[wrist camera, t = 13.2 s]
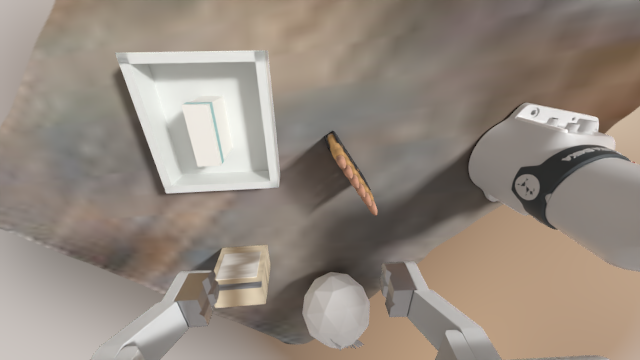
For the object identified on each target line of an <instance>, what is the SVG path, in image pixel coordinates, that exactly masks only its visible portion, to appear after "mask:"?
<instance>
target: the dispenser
mask: <svg viewBox="0 0 640 360" xmlns="http://www.w3.org/2000/svg"><path fill="white" fill-rule="evenodd" d="M214 272H215V274H216V277H215V280H216V281H217V282H218V284H219V297H218V300H217V303H216V304H215V308H223V307H235V306H247V305H259V304H266V298H267V290H268V282H269V274H270V259H269V253H268V246H267V245H258V246H244V247H229V248H222V250H221V253H220V256H219V258H218V261H217V263H216V266H215V269H214Z"/></svg>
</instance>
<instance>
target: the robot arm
mask: <svg viewBox="0 0 640 360" xmlns="http://www.w3.org/2000/svg"><path fill="white" fill-rule="evenodd" d="M531 112H532V113H531ZM598 127H599V121H598V118H597V117H594V116H591V115H586V114H581V113H576V112H571V111H566V110H561V109H556V108H551V107H546V106H541V105H536V104H532V103H524V104H522V105H521V106H519V107H518V108H517V109H516V110H515V111H514V112H513V113H512V114H511V115H510V117H509V118H507V119H506V120H504V121H503V122H501V123H499V124H498V125H496V126H495V127H493V128H492V129H491V130H489V131H488V132H487V133H486V134H485V135H484V136H483V137H482V138H481V139H480V141H479V142H478V143H477V145H476V146H475V148H474V150H473V152H472V154H471V157H470V161H469V175H470V178H471V180H472V181H473V183H474V184H475V185H477V186H478V187H480V188H481V189H482V190H483V191H484V194H485V196H486V198H487V199H488V200H490V201H492V202H495V201H500V202H502V203H503V204H505V205H507V206H508V207H510V208H512V209H514V210H515V211H517V212H519V213H521V214H522V215H532V216H533V217H534V218H535V219H536V220H537V221H539V222H540V223H543V224H545V225H547V226H548V227H550V228H552V229H556V230H559V231H561V232H562V233H564V234H565V235H567V236H568V237H570V238H571V239H573V240H574V241H576V242H577V243H579V244H580V245H582V246H583V247H585V248H586V249H587V250H589V251H590V252H592V253H593V254H595V255H596V256H598V257H599V258H601V259H602V260H604V261H605V262H607V263H609V264H611V265H613V266H616V267H619V268H622V269H626V270H631V271H638V272H640V165H639V164H636V163H635V162H631V161H630V160H629V159H628V158H626V157H625V156H623V155H622V154H621V153H619V152H617V151H615V141H614V138H613V137H611V136H609V135H606V134H602V133H598ZM381 269H382V272H383V273H382V274H381V275H380V286H381V291H382V294H383V296H384V297H385V298H386V302H385V305H386V308H387V311H388V314H389V317H408V319H409V320H410V321H411V322H412V323H413V324H414V325H415V326H416V327H417V328H418V330H419V331H420V332H421V333H422V334H423V335H424V336H425V337H426V338H427V339H428V340H429V342H430V343H431V344H432V345H433V346H434V347H435V348H436V349H437V350H438V354H437V356H436V358H435V360H502V359H501V357H500V356H499V354H498V353H497V351H496V349H495V348H494V346H493V344H492V343H491V342H490V340H489V338H488V337H487V335H486V333H485V332H484V330H483V328H482V327H480V326H479V325H478V324H477V323H475V322H474V321H472V320H471V319H470V318H469V317H467V316H466V315H465V314H463V313H462V312H461V311H459V310H458V309H457V308H456V307H454V306H453V305H451V304H450V303H449V302H448V301H446V300H445V299H444V298H442V297H441V296H440V295H438V294H437V293H436V292H434V291H433V290H429V289H428V287H427V285H426V283H425V281H424V279H423V277H422V275H421V273H420V271H419V269H418V267H417V265H416V263H415V262H414V261H408V262H387V263H383V264H382V268H381ZM215 277H216V274H215V272H214V271H181V272H179V273H178V274H177V276H176V278H175V279H174V281H173V283H172V284H171V286H170V288H169V289H168V291H167V293H166V294H165V296H164V298H163V299H162V301H161V302H159V303H156V304H155V305H154V306H152V307H151V308H150V309H148V310H147V311H146V312H144V313H143V314H142V315H140V316H139V317H138V318H137V319H135V320H134V321H133V322H131V323H130V324H129V325H127V326H126V327H125V328H123V329H122V330H121V331H120V332H118V333H117V334H115V335H114V336H113V337H111V338H110V339H109V340H107V341H106V342H105V343H103V344H102V345H101V346H100V347H99V348H98V349H97V351H96V352H95V354H94V355H93V356H92V358H91V359H90V360H160V359H161V358H162V357H163V356H164V355H165V354H166V353H167V352H168V350H169V349H170V348H171V347H172V346H173V345H174V344H175V343H176V342H177V341H178V340H179V339H180V338H181V336H182V335H183V334H184V333H185V332H186V331H187V330H188V329H189V328H188V327H200V326H208V324H209V321H210V319H211V316H212V313H213V310H212V306H213V305H215V304H216V303H217V300H218V297H219V284H218V282H217V281H216V280H215ZM512 360H610V359H608V358H605V357H602V356H596V355H585V356H568V357H549V358H531V359H512Z"/></svg>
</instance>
